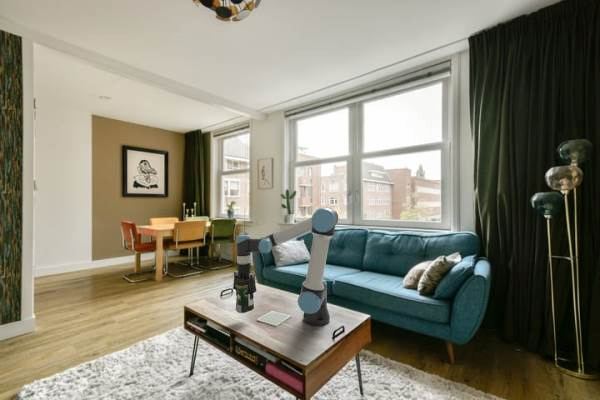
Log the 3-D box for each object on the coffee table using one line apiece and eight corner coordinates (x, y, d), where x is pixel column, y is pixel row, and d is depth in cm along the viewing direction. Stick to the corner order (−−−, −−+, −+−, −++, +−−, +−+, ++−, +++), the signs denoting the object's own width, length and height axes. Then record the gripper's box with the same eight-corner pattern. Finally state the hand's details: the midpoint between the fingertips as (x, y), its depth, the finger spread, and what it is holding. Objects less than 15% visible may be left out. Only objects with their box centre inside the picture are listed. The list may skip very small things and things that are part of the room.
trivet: (291, 317, 158) (291, 315, 158) (276, 326, 146) (276, 325, 146) (272, 312, 166) (272, 310, 166) (256, 320, 154) (256, 319, 154)
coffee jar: (248, 306, 158) (247, 274, 159) (256, 309, 153) (255, 276, 153) (233, 311, 152) (232, 277, 152) (241, 314, 146) (240, 280, 146)
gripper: (262, 263, 150) (263, 304, 150) (235, 259, 161) (236, 298, 161) (253, 266, 144) (254, 309, 143) (225, 262, 155) (226, 302, 155)
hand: (244, 303), depth 152 cm, fingers closed on coffee jar, 8 cm apart
